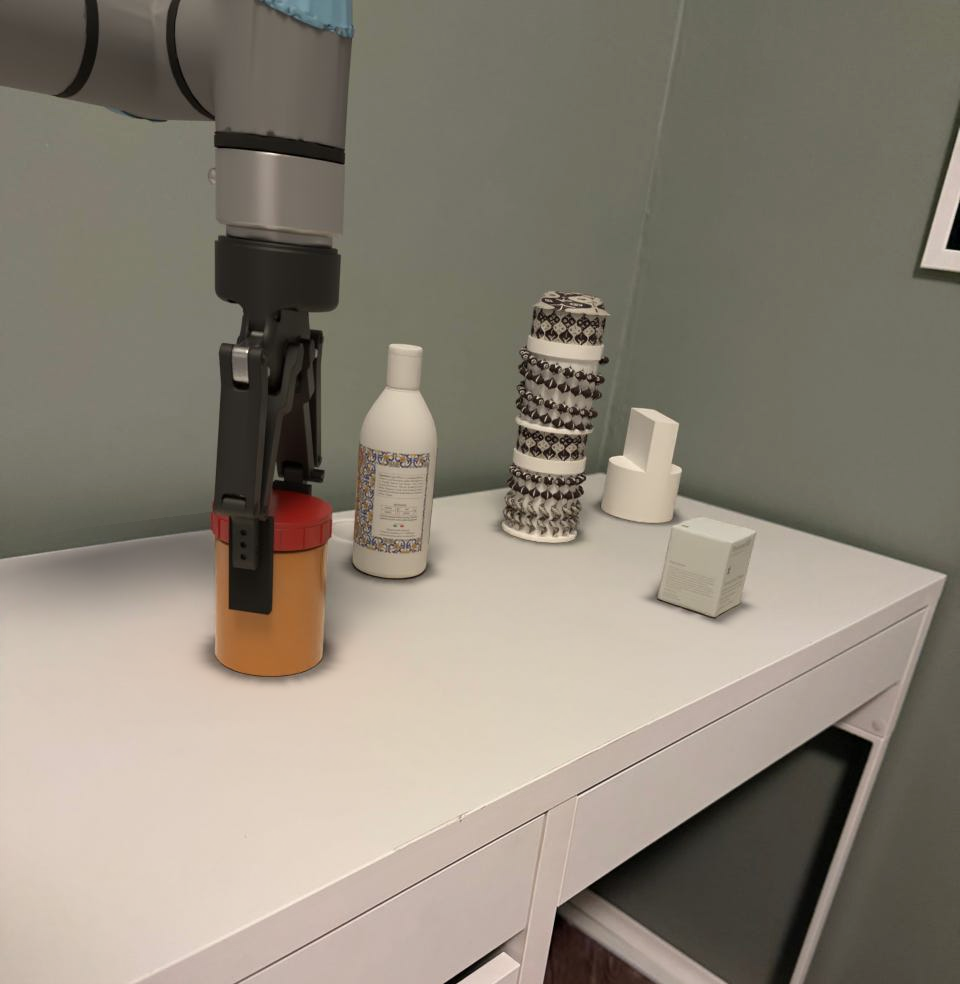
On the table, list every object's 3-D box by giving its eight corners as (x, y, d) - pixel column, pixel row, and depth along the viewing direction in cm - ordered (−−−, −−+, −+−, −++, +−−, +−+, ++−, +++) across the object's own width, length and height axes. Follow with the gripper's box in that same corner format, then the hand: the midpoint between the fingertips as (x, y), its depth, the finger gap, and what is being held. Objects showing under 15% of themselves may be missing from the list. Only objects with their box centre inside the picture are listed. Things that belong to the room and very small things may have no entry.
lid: (186, 526, 62) (185, 499, 61) (276, 508, 68) (277, 483, 68) (267, 559, 58) (268, 530, 57) (355, 537, 64) (357, 510, 63)
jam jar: (192, 650, 66) (190, 506, 62) (273, 623, 72) (276, 491, 67) (265, 687, 62) (268, 536, 58) (344, 655, 68) (352, 517, 64)
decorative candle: (517, 513, 109) (547, 287, 99) (591, 530, 105) (629, 299, 95) (484, 530, 101) (512, 287, 91) (562, 549, 97) (601, 299, 88)
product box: (714, 619, 83) (732, 542, 80) (654, 599, 87) (669, 524, 84) (740, 604, 88) (758, 530, 85) (683, 585, 91) (698, 514, 88)
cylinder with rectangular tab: (591, 499, 118) (607, 405, 114) (657, 503, 120) (675, 411, 115) (613, 520, 110) (631, 420, 106) (683, 524, 112) (704, 426, 107)
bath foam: (370, 550, 90) (384, 337, 82) (436, 564, 89) (457, 349, 81) (339, 570, 84) (351, 342, 76) (409, 585, 83) (429, 355, 75)
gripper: (272, 232, 65) (266, 538, 75) (142, 225, 46) (155, 637, 56) (376, 245, 65) (357, 551, 74) (288, 243, 46) (277, 655, 55)
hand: (271, 587), depth 65 cm, fingers closed on lid, 8 cm apart
